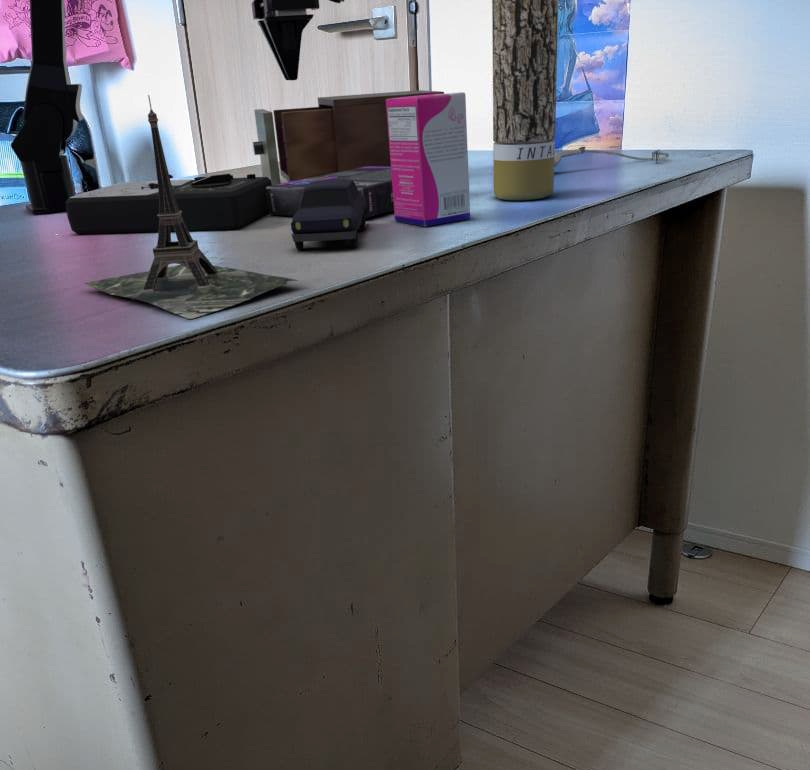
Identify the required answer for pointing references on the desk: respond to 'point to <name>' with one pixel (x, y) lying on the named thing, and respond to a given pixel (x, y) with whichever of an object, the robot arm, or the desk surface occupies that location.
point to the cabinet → (363, 127)
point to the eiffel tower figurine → (184, 263)
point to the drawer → (296, 143)
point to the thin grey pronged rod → (582, 150)
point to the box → (367, 179)
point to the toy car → (329, 212)
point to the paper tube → (524, 97)
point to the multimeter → (197, 199)
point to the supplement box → (429, 158)
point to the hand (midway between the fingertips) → (291, 80)
